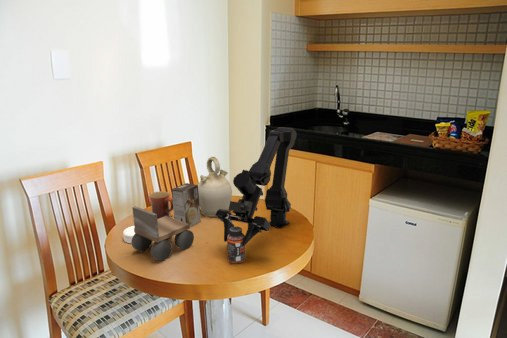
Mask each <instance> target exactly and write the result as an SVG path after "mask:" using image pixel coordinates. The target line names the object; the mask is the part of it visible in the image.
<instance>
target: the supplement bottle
mask: <svg viewBox="0 0 507 338" xmlns="http://www.w3.org/2000/svg"><path fill="white" fill-rule="evenodd" d="M245 235H246V234H244V233H243V229H242V227H240V226H234V227H232V228H230V234H228V236H227V241H226V245H227V260H228V262H230V263H231V264H241V263H244V261H246V245H245V246H242V243H243V240H244V237H245Z"/></svg>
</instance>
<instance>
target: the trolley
mask: <svg viewBox="0 0 507 338" xmlns="http://www.w3.org/2000/svg"><path fill="white" fill-rule="evenodd" d="M131 208H132V215H133V216H132V217H133V224H134V225H133V226H135V228H134V233H135V234H134V236H133V238H132V242H131V243H130V244H131V247H132V248H133V249H134V250H136V251H138V252H145V251H147V250H149V249H150V256H151V257H152V258H153V259H155V260H157V261H159V262H163V261H167V259H168V258H169V257H170V256H171V255H172V250H173V246H172V243H171V242H170V241H169V240H171V239H172V237H173V236H174V239H173V242H174V245H175V247H176V248H178V249H181V250H184V251H185V250H188V249H190V247H191V246H192V245H193V243H194V240H195V235H194V232H193V231H192V230H189V229H191V227H190V226H189V224H187V223H185V222H182V221H179V220H176V219H174V217H171V216H169V217H168V216H164V217H162V218H159V219H157V214H155V213H152V211H150V210H147V209H143V208H141V207H139V206H132V207H131Z"/></svg>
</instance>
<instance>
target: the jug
mask: <svg viewBox="0 0 507 338" xmlns="http://www.w3.org/2000/svg"><path fill="white" fill-rule="evenodd" d="M212 162H213V163H212ZM213 164H214V169H213V166H212V165H213ZM220 164H221V163H220V161H219V160H218V158H217V157H216V156H210V157H208V159H207V161H206V169H207V171H208V175H207V176H206V175H200V179H199V180H200V181H199V182H198V184H197V185H198V193H199V206H200V212H201V214H202V215H203V216H205V217H209V218H217V217H216V216H215V215H216V212H217V210H219V209H223V210H228V211H229V205H230V201H232V197H233V195H232V194H233V189H232V185H231V183H230V181H229V180H228V179H227V178H226V176H227V175H228V173H229V172H228V171H226V170H224V169H222V168H221V165H220ZM229 212H230V211H229Z"/></svg>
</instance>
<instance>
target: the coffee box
mask: <svg viewBox="0 0 507 338" xmlns="http://www.w3.org/2000/svg"><path fill="white" fill-rule="evenodd" d="M171 195H172V198H171V199H173V216H174V217H173V218H174V219H176V220H179V221H182V222H185V223H187V224H189V226H190V228H191V227H193V226H194V225H196V224H198V223H200V222H201V208H200V205H199V193H198V184H194V183H187V182H186V183H183V184H180V185H179V186H176V187H174V188H172V189H171Z"/></svg>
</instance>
